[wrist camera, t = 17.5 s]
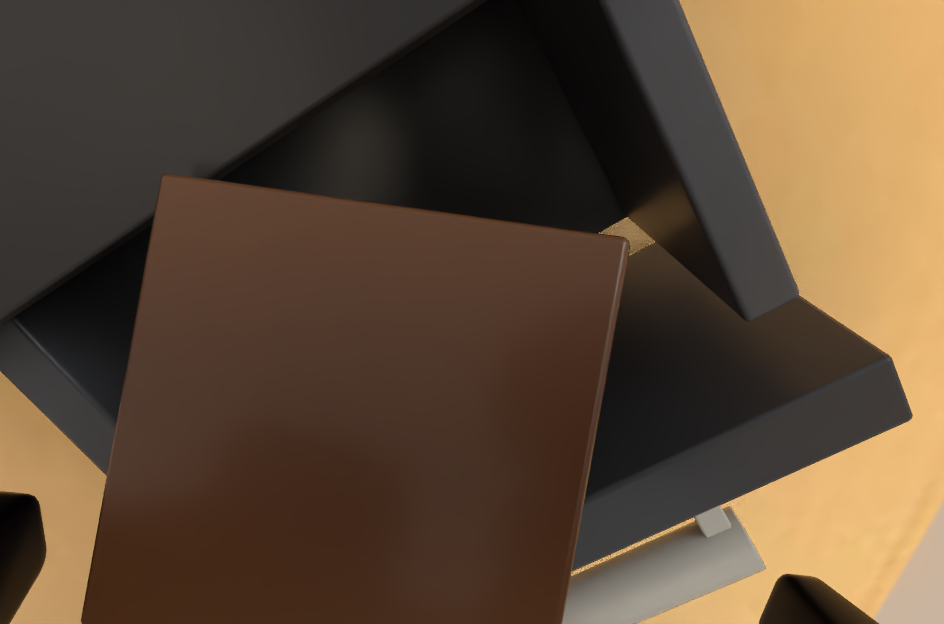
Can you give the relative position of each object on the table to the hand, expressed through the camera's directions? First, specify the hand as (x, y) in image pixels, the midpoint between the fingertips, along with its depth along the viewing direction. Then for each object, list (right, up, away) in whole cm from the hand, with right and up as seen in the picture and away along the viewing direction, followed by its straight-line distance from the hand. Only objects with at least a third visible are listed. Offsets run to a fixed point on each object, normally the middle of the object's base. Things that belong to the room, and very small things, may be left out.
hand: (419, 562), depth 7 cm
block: (0, +2, +2) cm, 3 cm away
